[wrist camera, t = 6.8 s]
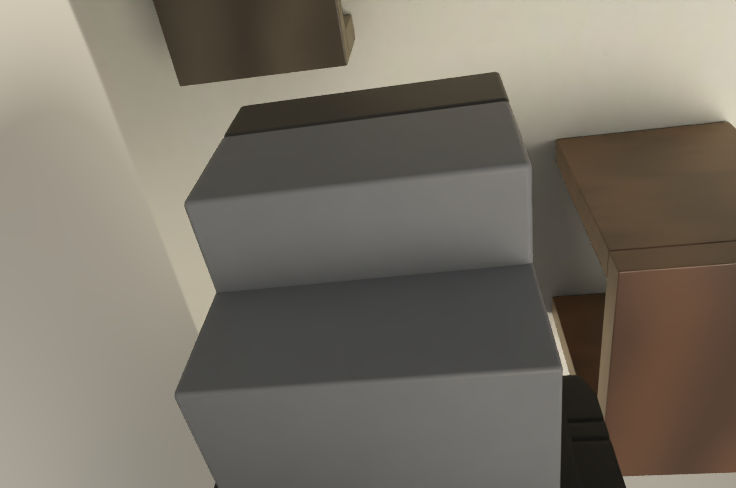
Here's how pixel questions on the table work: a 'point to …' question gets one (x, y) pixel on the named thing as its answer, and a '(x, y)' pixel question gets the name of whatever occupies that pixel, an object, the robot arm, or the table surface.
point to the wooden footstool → (658, 293)
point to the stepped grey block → (374, 296)
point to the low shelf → (253, 37)
